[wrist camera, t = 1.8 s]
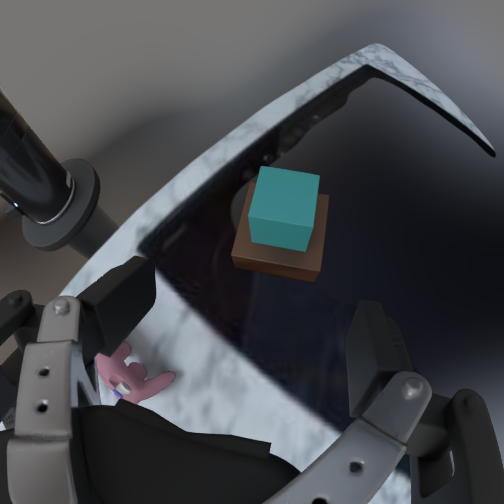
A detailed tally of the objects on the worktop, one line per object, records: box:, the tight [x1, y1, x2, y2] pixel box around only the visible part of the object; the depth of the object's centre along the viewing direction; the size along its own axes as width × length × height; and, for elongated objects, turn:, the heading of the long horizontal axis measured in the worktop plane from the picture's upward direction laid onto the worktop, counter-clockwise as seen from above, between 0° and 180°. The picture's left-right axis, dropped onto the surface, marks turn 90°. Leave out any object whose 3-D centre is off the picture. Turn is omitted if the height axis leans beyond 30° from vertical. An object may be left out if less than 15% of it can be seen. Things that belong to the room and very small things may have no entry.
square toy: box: [248, 166, 320, 252], centre depth 27 cm, size 6×6×6 cm
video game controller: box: [96, 341, 175, 404], centre depth 26 cm, size 10×5×7 cm, turn 42°
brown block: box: [231, 183, 329, 282], centre depth 31 cm, size 9×9×4 cm
